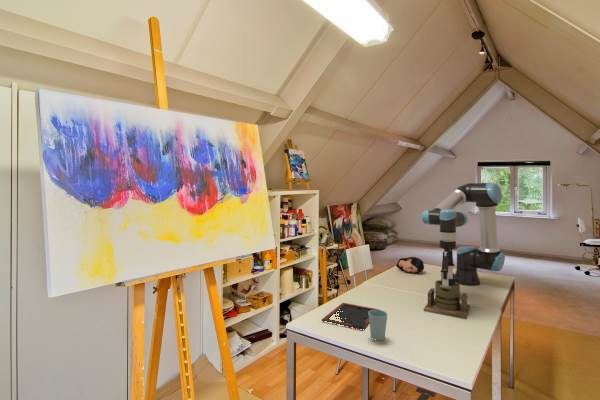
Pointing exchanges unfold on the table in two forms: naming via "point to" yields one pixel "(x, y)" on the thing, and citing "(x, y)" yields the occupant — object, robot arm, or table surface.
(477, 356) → the table surface
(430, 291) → the roll stand
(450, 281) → the small box
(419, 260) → the head
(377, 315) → the cup
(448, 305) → the piston
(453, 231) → the robot arm
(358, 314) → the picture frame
